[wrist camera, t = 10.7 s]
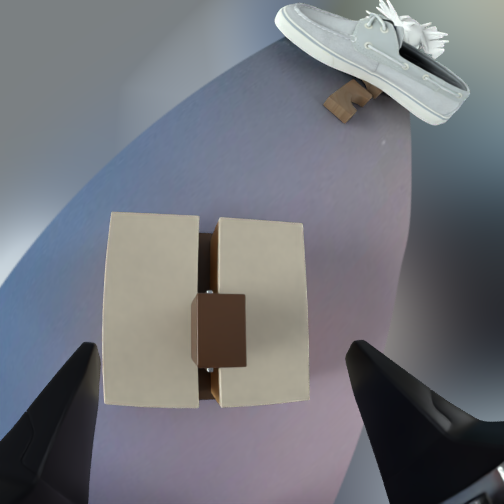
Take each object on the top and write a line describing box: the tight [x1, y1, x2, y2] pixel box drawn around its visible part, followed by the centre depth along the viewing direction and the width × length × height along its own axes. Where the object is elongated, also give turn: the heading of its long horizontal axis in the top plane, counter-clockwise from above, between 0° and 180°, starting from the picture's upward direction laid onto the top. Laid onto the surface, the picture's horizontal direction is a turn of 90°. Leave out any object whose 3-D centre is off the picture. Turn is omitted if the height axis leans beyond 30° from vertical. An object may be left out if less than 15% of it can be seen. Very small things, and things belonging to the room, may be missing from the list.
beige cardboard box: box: [102, 212, 309, 408], centre depth 19 cm, size 12×12×5 cm
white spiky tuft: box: [366, 0, 449, 60], centre depth 31 cm, size 11×12×8 cm
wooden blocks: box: [323, 79, 383, 123], centre depth 34 cm, size 30×3×8 cm
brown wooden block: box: [191, 290, 247, 372], centre depth 16 cm, size 4×2×9 cm, turn 1°
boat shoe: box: [275, 3, 470, 125], centre depth 27 cm, size 25×9×8 cm, turn 65°
